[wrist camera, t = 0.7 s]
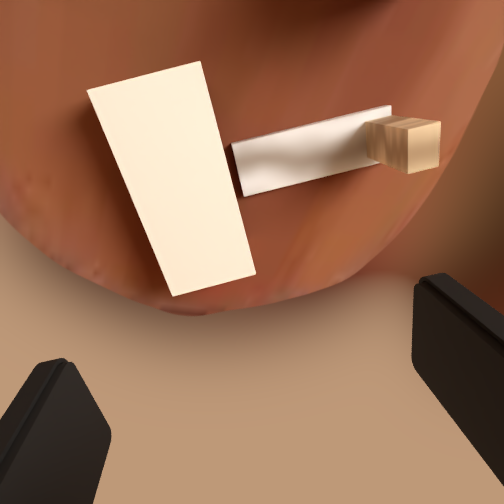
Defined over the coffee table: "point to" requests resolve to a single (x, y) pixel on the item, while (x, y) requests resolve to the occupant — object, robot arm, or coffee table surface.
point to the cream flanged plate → (177, 175)
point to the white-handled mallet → (336, 149)
